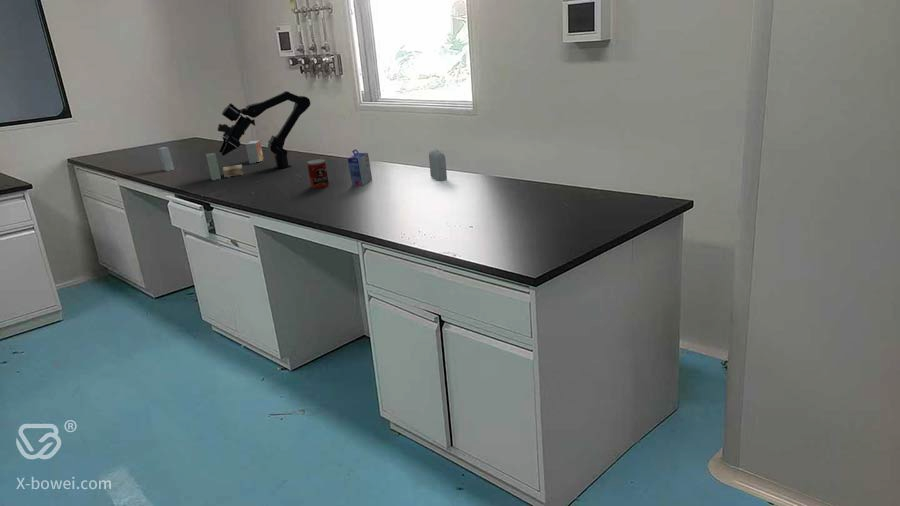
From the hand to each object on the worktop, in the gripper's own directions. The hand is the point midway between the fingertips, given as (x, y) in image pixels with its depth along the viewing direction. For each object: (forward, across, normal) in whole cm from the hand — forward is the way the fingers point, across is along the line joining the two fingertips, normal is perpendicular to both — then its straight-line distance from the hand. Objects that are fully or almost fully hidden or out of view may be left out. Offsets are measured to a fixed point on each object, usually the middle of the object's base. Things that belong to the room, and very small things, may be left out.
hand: (221, 153), depth 303 cm
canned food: (-15, +54, +32) cm, 64 cm away
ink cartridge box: (-27, +62, +43) cm, 80 cm away
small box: (-5, -27, +22) cm, 35 cm away
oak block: (+6, -2, +11) cm, 13 cm away
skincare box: (+26, -44, -9) cm, 52 cm away
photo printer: (-47, +80, +63) cm, 112 cm away
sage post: (+12, 0, +5) cm, 13 cm away
